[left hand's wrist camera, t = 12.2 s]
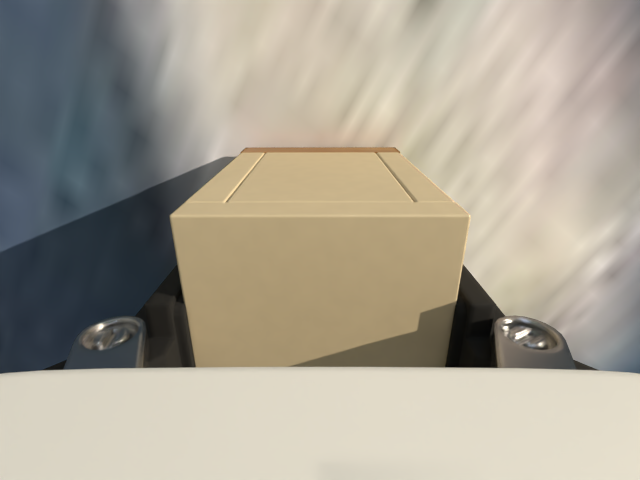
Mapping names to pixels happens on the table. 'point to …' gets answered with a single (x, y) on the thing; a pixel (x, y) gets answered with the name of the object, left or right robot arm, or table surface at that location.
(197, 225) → the tan long block
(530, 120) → the table surface
